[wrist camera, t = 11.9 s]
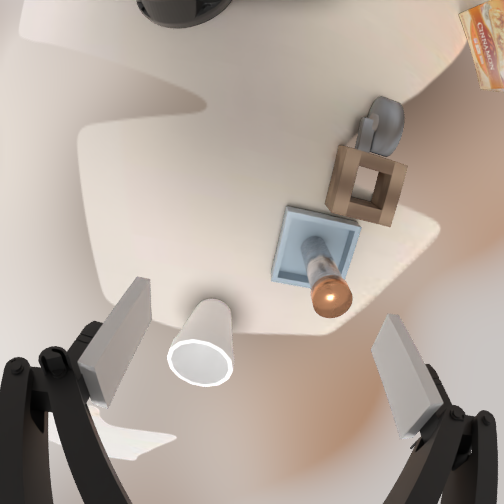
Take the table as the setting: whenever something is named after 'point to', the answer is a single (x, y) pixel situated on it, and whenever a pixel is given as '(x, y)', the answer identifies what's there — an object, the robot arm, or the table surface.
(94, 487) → the robot arm
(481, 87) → the coffeecake box
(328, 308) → the pin
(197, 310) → the foam cup
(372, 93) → the table surface
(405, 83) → the table surface
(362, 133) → the pulley block
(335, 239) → the tray
